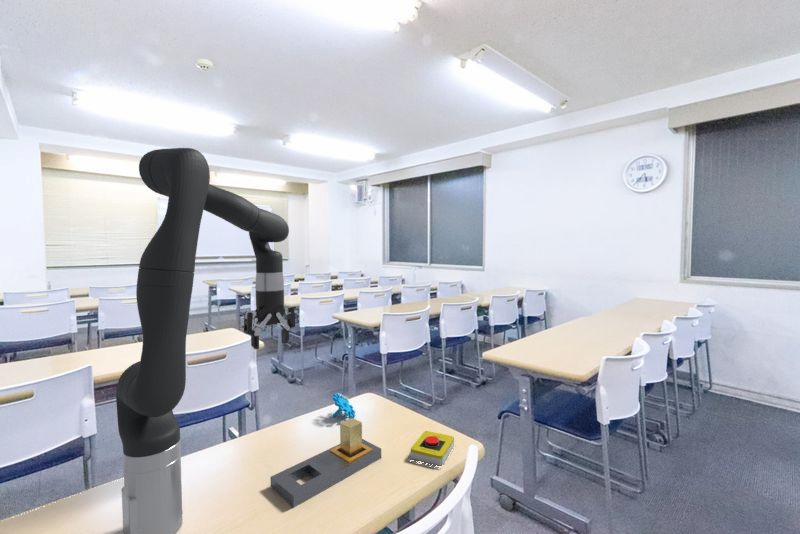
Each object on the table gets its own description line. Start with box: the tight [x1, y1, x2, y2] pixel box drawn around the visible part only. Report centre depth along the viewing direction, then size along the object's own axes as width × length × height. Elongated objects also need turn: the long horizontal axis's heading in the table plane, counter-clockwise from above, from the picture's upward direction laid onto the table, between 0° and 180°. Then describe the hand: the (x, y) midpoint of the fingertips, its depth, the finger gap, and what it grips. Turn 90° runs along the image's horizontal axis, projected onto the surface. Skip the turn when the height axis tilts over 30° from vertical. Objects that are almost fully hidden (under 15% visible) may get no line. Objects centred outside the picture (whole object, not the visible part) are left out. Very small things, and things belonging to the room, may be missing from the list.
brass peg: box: [339, 417, 363, 458], centre depth 97 cm, size 4×4×10 cm
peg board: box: [270, 438, 382, 508], centre depth 92 cm, size 26×10×3 cm, turn 137°
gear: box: [332, 392, 356, 419], centre depth 123 cm, size 11×6×10 cm
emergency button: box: [407, 430, 455, 470], centre depth 101 cm, size 9×4×15 cm
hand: (270, 345), depth 104 cm, fingers open, 8 cm apart
